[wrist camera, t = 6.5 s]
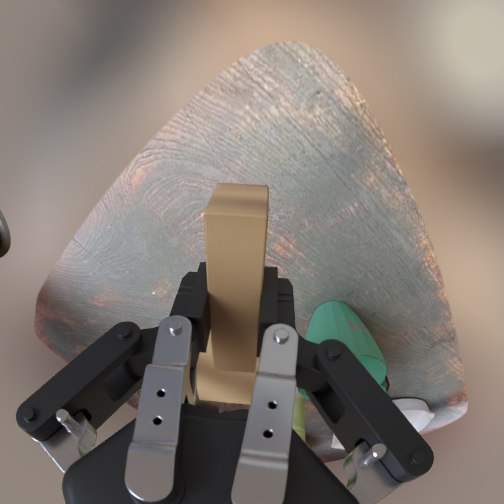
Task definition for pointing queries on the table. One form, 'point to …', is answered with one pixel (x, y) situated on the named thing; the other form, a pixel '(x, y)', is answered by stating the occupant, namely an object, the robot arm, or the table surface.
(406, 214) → the table surface
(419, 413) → the pan
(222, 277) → the spatula
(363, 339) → the mug
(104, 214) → the table surface
